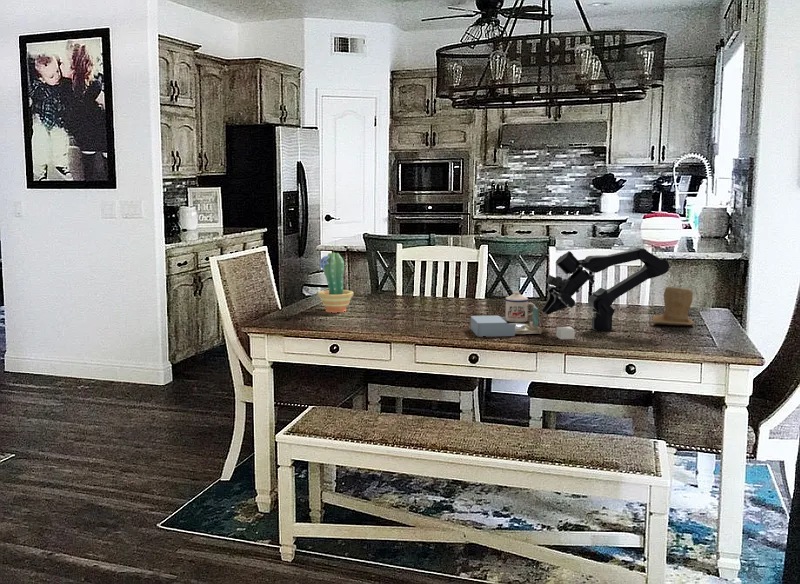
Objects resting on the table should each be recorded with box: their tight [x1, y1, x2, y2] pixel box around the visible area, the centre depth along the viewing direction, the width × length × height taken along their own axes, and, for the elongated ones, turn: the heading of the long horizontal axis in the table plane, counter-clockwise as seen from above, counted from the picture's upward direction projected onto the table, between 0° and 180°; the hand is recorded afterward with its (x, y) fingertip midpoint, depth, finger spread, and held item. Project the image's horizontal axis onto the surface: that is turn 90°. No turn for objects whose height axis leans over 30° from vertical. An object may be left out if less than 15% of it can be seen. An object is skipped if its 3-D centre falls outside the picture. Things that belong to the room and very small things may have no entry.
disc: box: [509, 322, 525, 330], centre depth 290 cm, size 7×7×2 cm
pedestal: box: [555, 326, 575, 340], centre depth 280 cm, size 5×5×4 cm
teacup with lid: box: [504, 291, 536, 323], centre depth 312 cm, size 12×9×12 cm
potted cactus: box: [317, 252, 354, 314], centre depth 333 cm, size 15×15×25 cm
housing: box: [470, 315, 516, 338], centre depth 289 cm, size 14×14×5 cm
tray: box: [515, 306, 542, 335], centre depth 290 cm, size 14×13×8 cm
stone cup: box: [652, 286, 695, 326], centre depth 303 cm, size 15×12×15 cm
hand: (544, 312), depth 290 cm, fingers open, 4 cm apart
